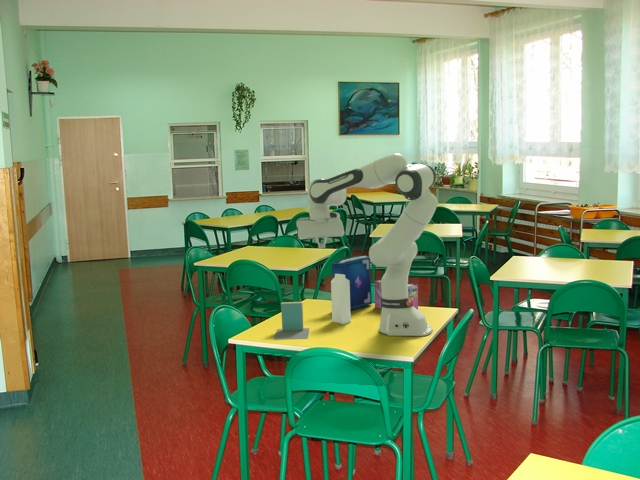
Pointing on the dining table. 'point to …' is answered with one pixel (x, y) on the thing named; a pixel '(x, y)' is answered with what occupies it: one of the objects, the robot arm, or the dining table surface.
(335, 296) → the milk
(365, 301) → the book
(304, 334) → the mat
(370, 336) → the dining table surface
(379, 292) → the gum box
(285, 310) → the tile
